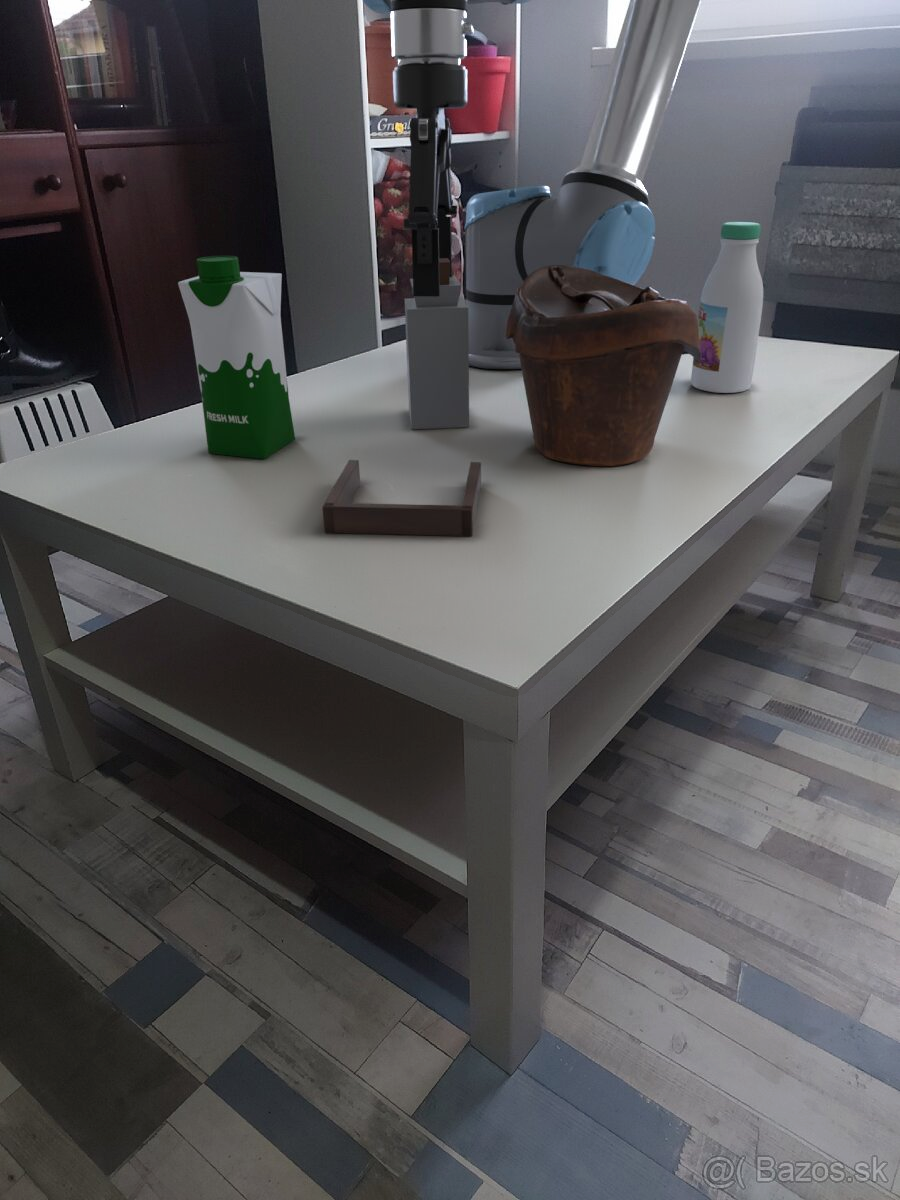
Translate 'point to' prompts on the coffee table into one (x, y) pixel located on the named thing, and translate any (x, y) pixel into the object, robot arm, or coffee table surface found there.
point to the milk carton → (239, 357)
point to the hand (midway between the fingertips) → (433, 286)
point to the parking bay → (399, 510)
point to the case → (597, 362)
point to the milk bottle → (730, 313)
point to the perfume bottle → (438, 356)
